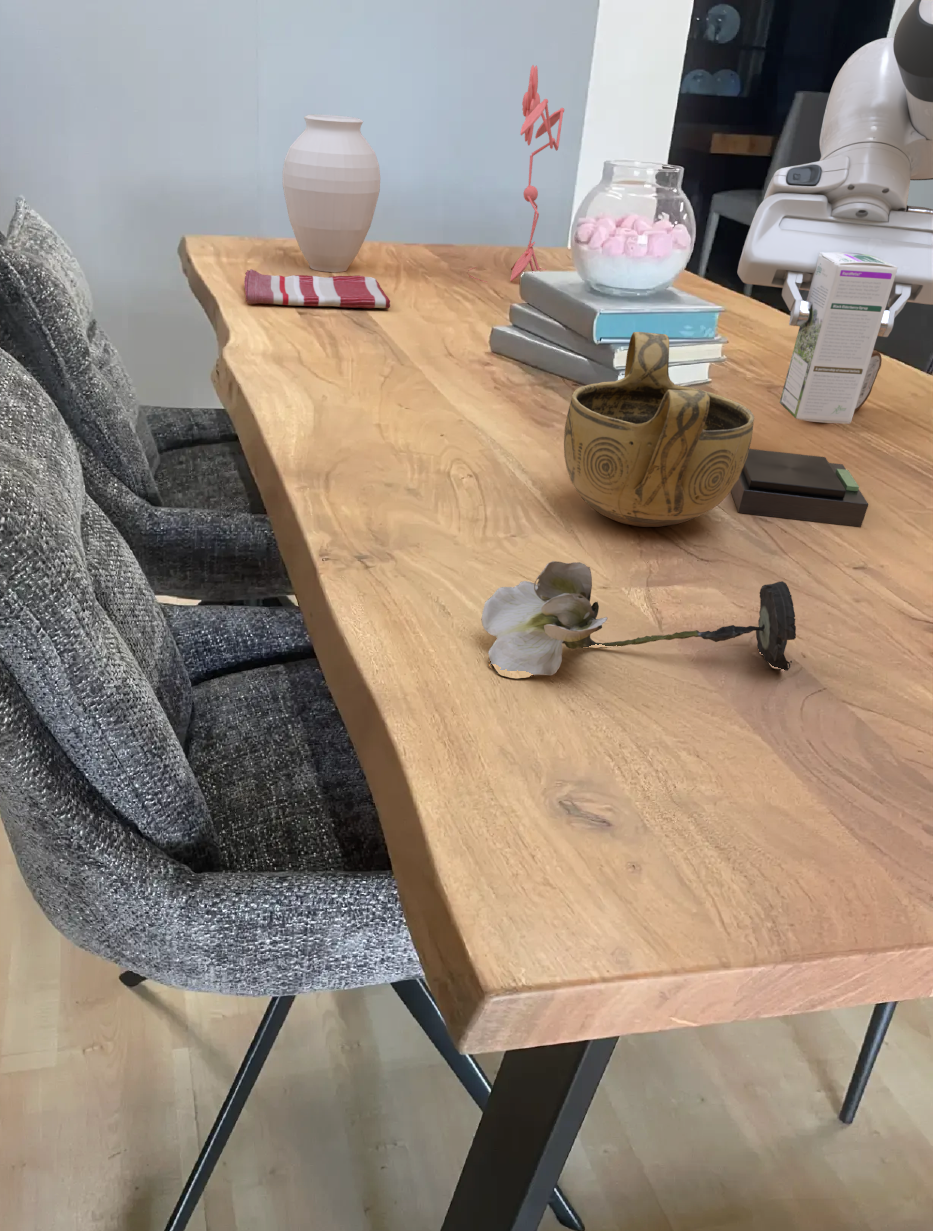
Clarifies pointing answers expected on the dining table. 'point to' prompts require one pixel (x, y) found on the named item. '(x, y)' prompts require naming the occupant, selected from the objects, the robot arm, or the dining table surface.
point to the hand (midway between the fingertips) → (839, 327)
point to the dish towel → (315, 290)
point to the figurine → (532, 113)
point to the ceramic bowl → (653, 442)
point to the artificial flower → (600, 621)
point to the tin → (869, 378)
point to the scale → (798, 489)
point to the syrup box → (837, 336)
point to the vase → (331, 190)
